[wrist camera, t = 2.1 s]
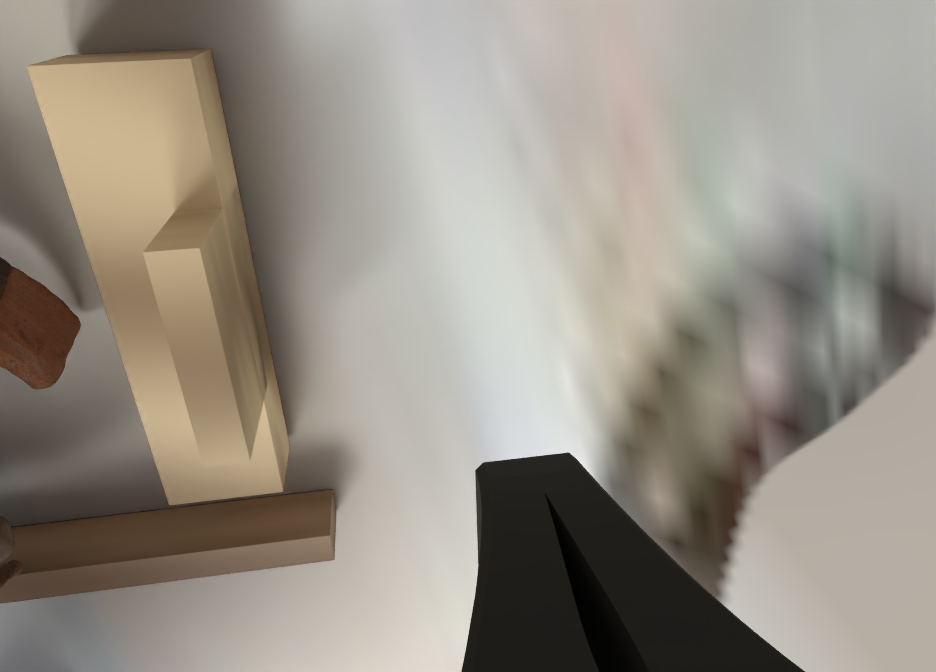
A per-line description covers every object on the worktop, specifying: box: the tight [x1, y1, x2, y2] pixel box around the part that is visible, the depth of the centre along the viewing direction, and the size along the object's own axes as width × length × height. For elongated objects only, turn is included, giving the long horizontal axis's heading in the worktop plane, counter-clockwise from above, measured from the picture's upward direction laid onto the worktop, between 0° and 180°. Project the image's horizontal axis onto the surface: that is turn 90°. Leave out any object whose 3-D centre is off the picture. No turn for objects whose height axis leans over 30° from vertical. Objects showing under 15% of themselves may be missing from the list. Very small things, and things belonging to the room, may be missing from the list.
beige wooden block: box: [26, 49, 290, 505], centre depth 15 cm, size 11×3×4 cm, turn 2°
